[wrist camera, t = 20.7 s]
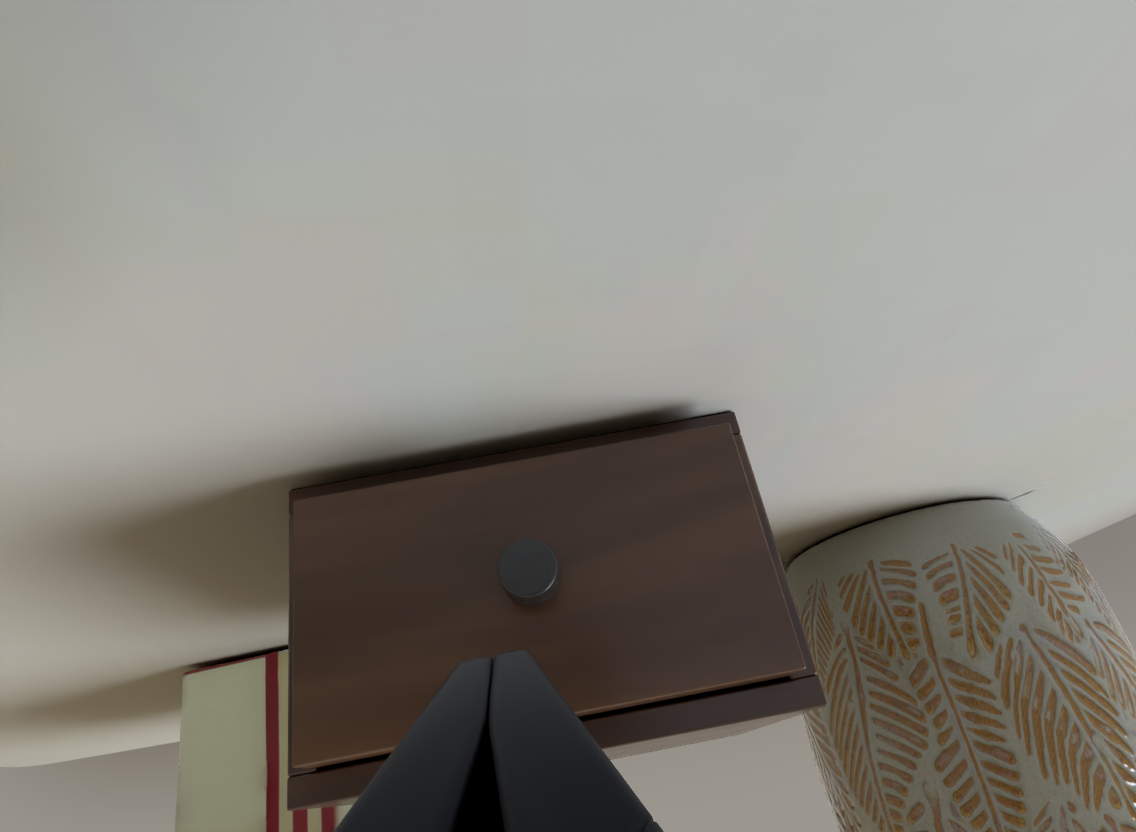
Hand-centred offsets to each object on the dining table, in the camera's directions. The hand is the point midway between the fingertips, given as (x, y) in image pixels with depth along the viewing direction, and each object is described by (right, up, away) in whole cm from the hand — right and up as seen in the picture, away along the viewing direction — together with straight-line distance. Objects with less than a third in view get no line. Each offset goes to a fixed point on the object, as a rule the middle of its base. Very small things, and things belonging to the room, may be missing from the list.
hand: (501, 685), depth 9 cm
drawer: (-1, -1, +18) cm, 18 cm away
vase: (+21, -4, +35) cm, 41 cm away
